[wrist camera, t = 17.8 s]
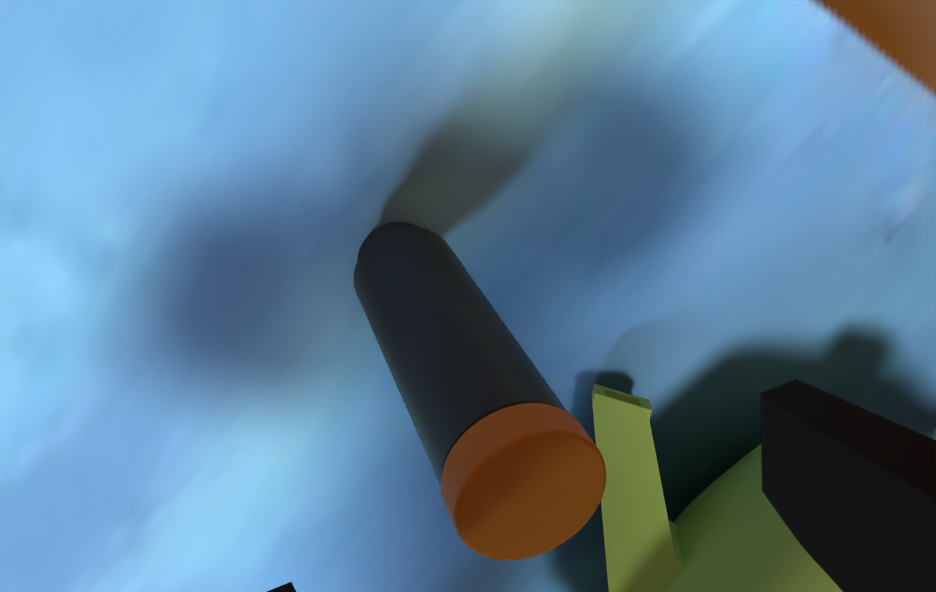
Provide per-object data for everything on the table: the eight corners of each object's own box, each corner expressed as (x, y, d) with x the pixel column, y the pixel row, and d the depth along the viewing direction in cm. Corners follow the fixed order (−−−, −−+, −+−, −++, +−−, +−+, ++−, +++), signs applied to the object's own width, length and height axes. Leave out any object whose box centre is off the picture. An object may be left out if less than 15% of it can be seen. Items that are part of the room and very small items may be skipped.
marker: (448, 272, 20) (616, 525, 13) (354, 305, 20) (473, 585, 13) (425, 185, 19) (599, 409, 12) (325, 218, 19) (438, 472, 11)
